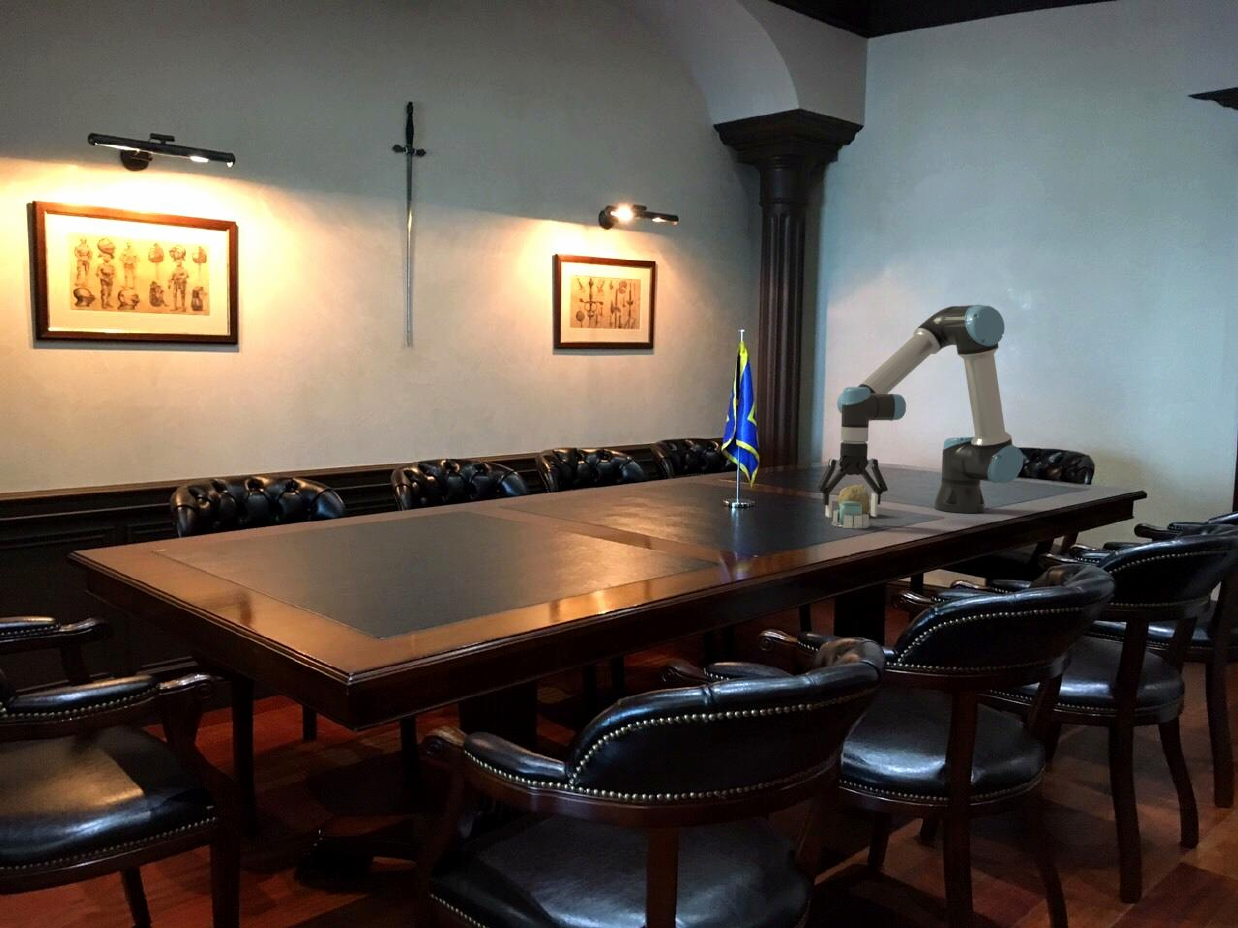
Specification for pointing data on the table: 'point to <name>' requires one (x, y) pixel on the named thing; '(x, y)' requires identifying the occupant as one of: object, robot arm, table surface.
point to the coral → (856, 496)
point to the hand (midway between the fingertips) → (851, 516)
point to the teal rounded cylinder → (849, 509)
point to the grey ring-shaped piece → (851, 520)
